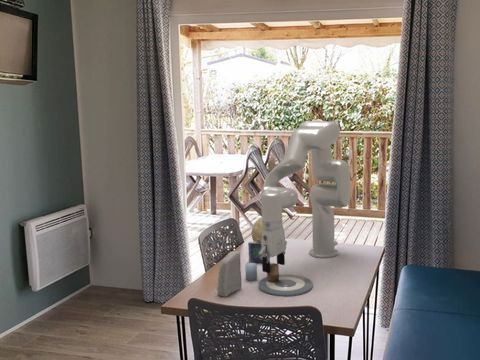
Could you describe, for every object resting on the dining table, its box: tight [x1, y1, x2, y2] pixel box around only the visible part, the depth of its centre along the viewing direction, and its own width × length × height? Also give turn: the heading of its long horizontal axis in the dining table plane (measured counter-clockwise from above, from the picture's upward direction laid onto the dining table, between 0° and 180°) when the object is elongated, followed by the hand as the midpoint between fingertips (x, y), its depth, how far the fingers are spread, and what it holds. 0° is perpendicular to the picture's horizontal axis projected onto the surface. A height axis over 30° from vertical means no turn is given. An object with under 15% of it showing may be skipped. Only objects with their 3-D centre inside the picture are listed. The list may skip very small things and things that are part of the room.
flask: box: [247, 238, 271, 265], centre depth 223 cm, size 9×3×11 cm, turn 71°
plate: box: [258, 273, 314, 297], centre depth 196 cm, size 20×20×1 cm
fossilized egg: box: [251, 216, 263, 242], centre depth 244 cm, size 13×13×15 cm
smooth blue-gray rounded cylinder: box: [244, 262, 258, 282], centre depth 204 cm, size 4×4×6 cm
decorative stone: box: [216, 250, 242, 297], centre depth 191 cm, size 11×6×15 cm, turn 148°
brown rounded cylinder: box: [266, 262, 280, 282], centre depth 199 cm, size 4×4×6 cm
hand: (273, 268), depth 199 cm, fingers open, 9 cm apart
